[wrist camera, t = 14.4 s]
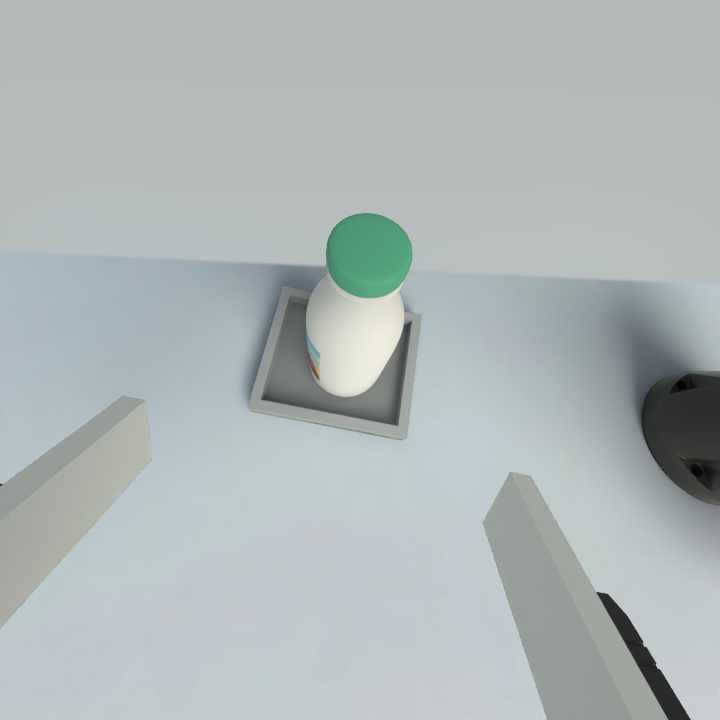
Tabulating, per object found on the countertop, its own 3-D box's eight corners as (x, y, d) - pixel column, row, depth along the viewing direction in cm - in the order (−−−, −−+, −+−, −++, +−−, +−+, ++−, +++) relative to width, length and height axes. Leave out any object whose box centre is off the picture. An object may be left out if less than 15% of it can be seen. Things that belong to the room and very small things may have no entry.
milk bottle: (390, 351, 37) (463, 225, 18) (360, 411, 34) (409, 338, 15) (330, 320, 37) (339, 166, 18) (296, 377, 34) (265, 267, 16)
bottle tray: (415, 324, 39) (421, 314, 37) (400, 440, 34) (406, 438, 32) (285, 297, 38) (283, 285, 36) (252, 411, 34) (247, 407, 31)
